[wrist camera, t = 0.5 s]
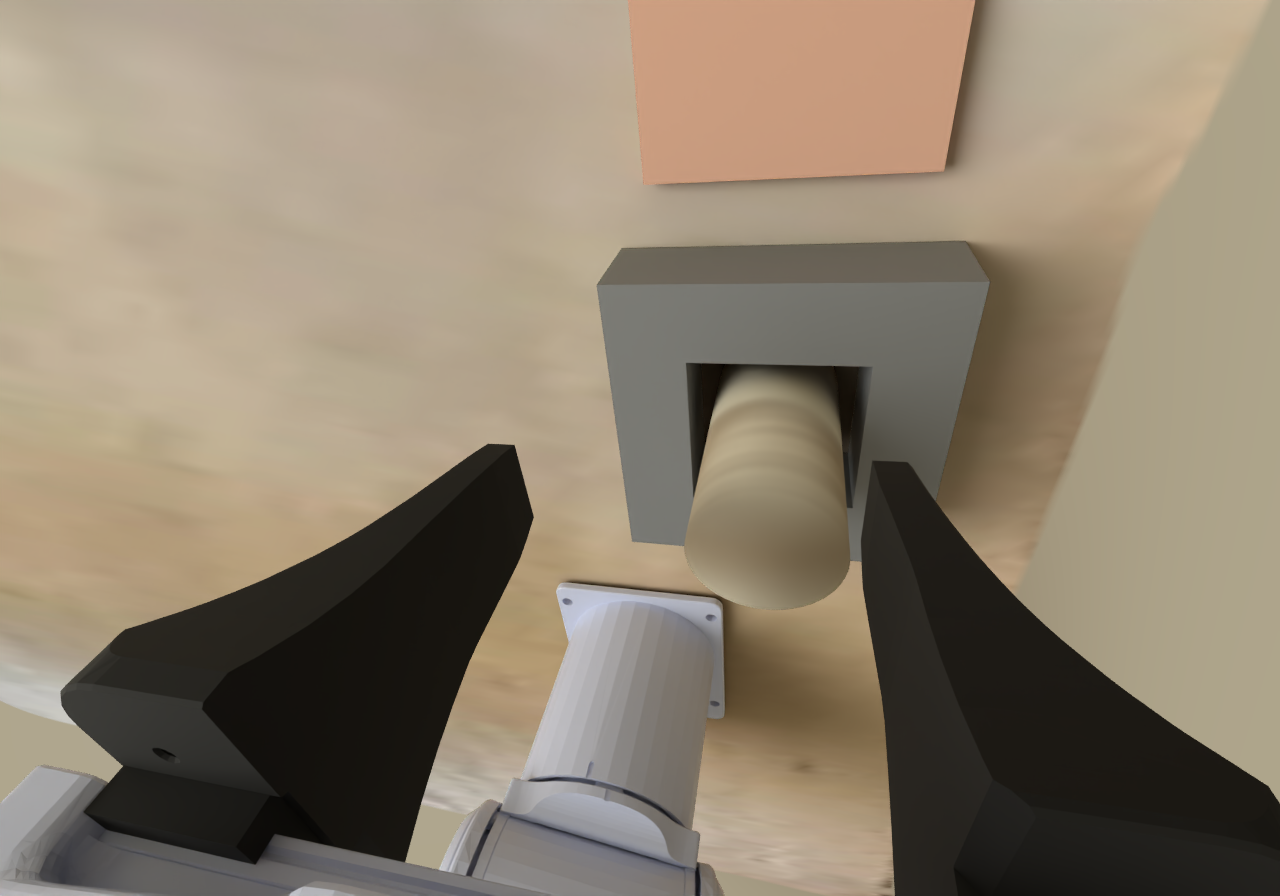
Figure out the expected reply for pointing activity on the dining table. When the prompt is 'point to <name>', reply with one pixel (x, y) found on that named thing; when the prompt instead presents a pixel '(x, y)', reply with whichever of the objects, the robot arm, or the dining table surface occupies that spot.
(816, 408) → the peg
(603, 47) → the dining table surface
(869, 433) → the pocket block
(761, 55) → the pad
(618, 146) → the dining table surface
